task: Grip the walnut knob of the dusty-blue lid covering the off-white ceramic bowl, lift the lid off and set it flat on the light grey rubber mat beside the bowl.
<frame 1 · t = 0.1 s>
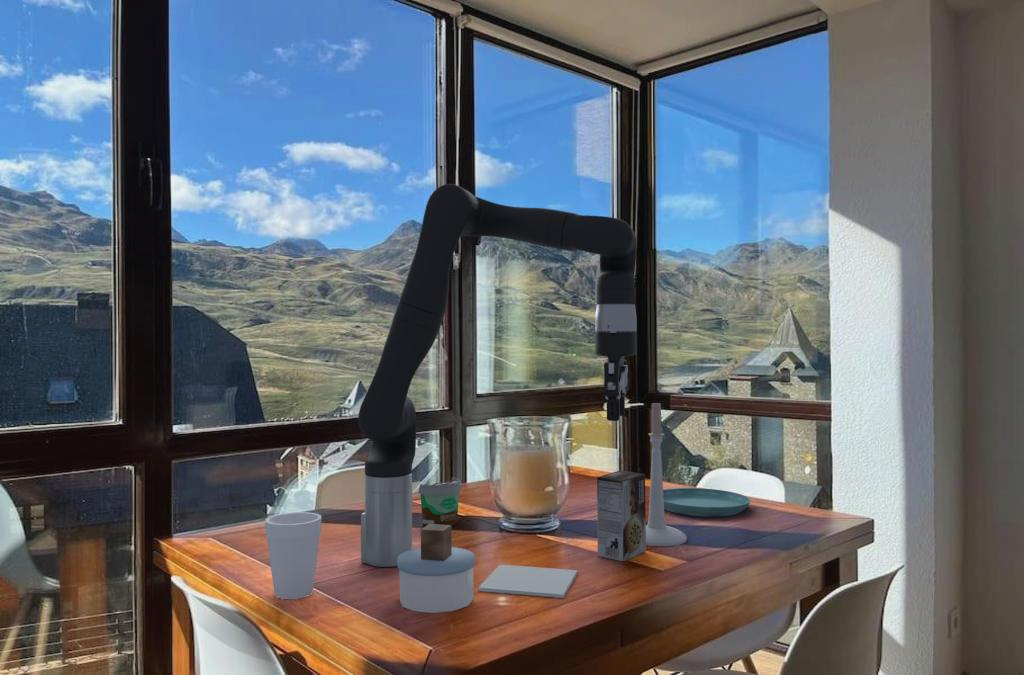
hand: (616, 418, 141), 29 cm above the table, fingers open, 8 cm apart
lid: (436, 564, 130), point 6 cm above the table, touching bowl
candlestick: (656, 539, 169), on the table
coffee box: (621, 555, 157), on the table
food container: (446, 525, 182), on the table
bowl: (436, 599, 130), on the table
saucer: (701, 510, 199), on the table
foam cup: (293, 594, 133), on the table
mat: (529, 581, 139), on the table
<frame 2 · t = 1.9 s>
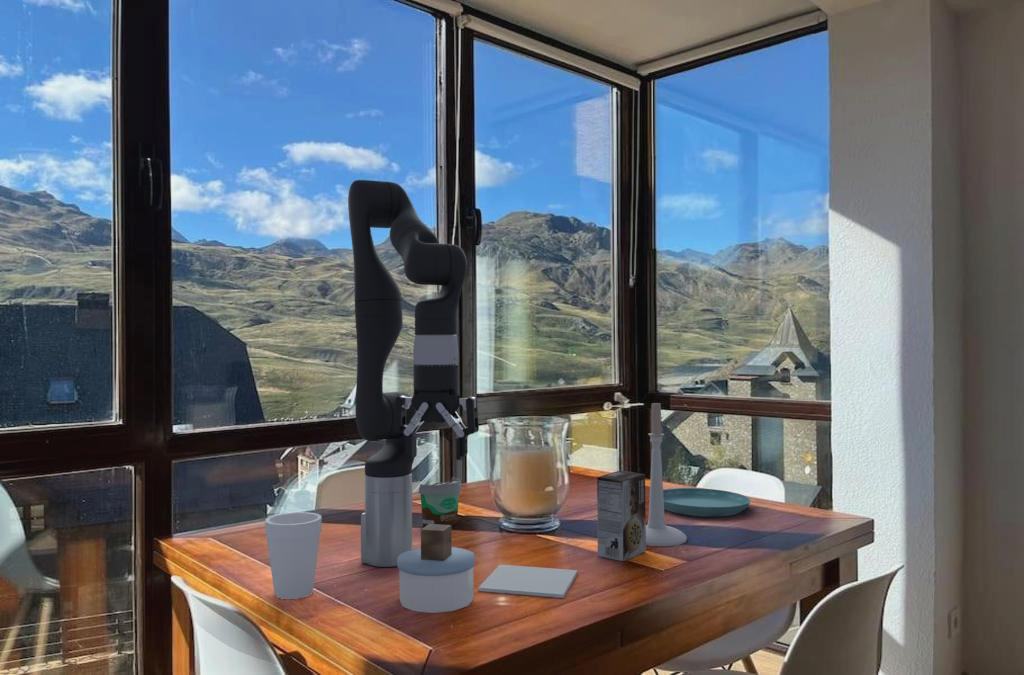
hand: (436, 458, 130), 24 cm above the table, fingers open, 8 cm apart
nothing on the table moved.
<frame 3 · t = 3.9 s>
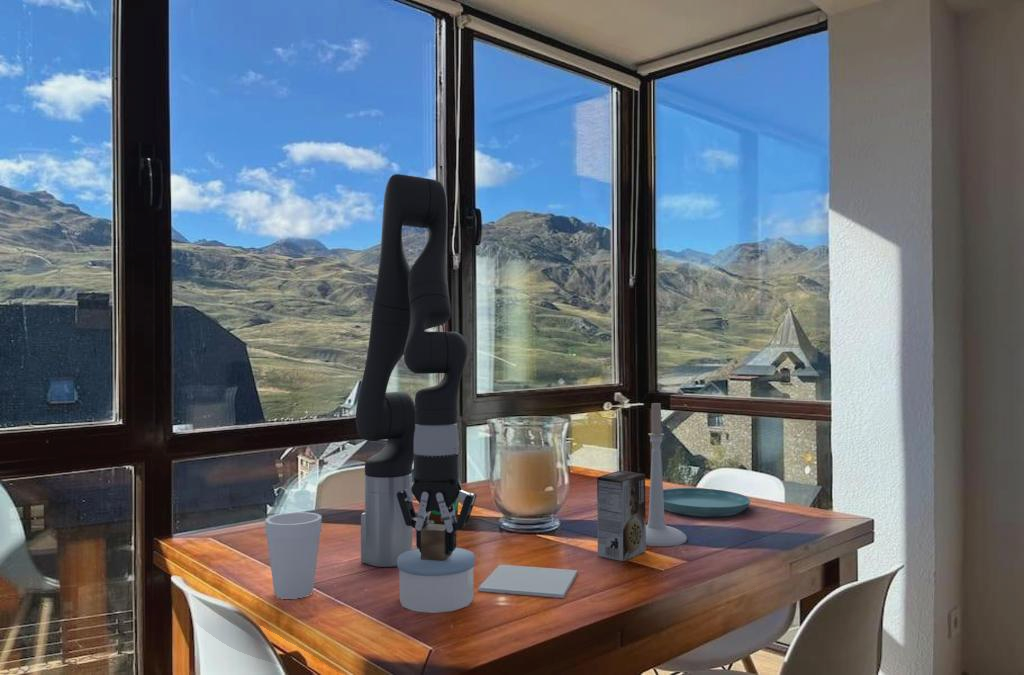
hand: (436, 551, 130), 8 cm above the table, fingers closed on lid, 4 cm apart
lid: (436, 564, 130), point 6 cm above the table, touching bowl, gripper
everything else where it was.
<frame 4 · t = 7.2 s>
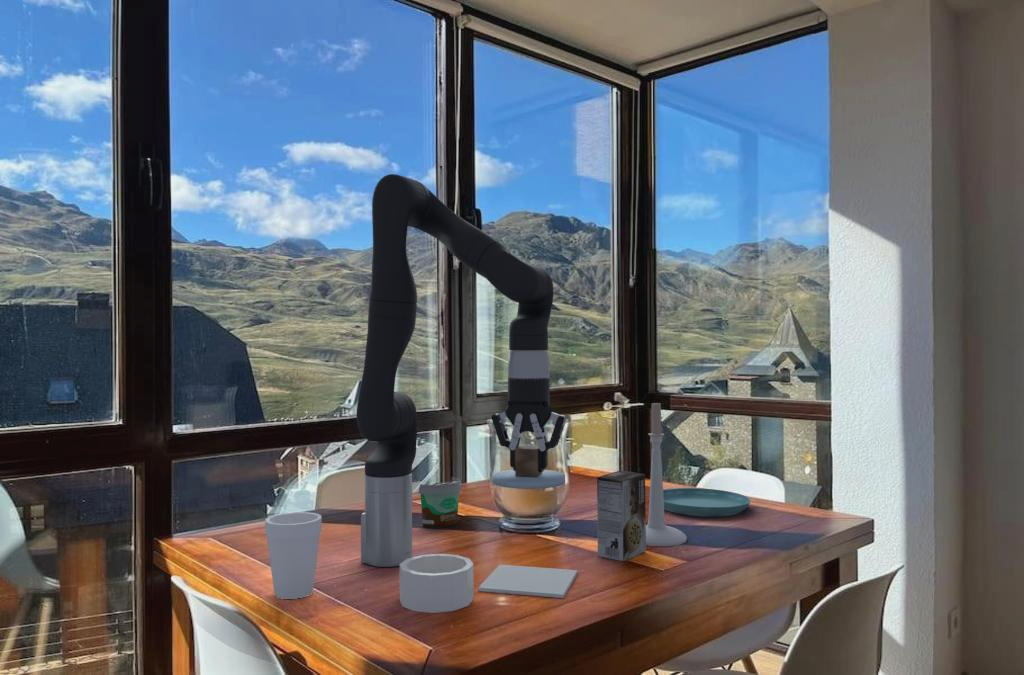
hand: (529, 470, 139), 20 cm above the table, fingers closed on lid, 4 cm apart
lid: (528, 481, 139), point 18 cm above the table, touching gripper
everything else where it was.
when the fingers open (4 cm above the table, at t = 10.5 s): lid drops 1 cm, resting on mat.
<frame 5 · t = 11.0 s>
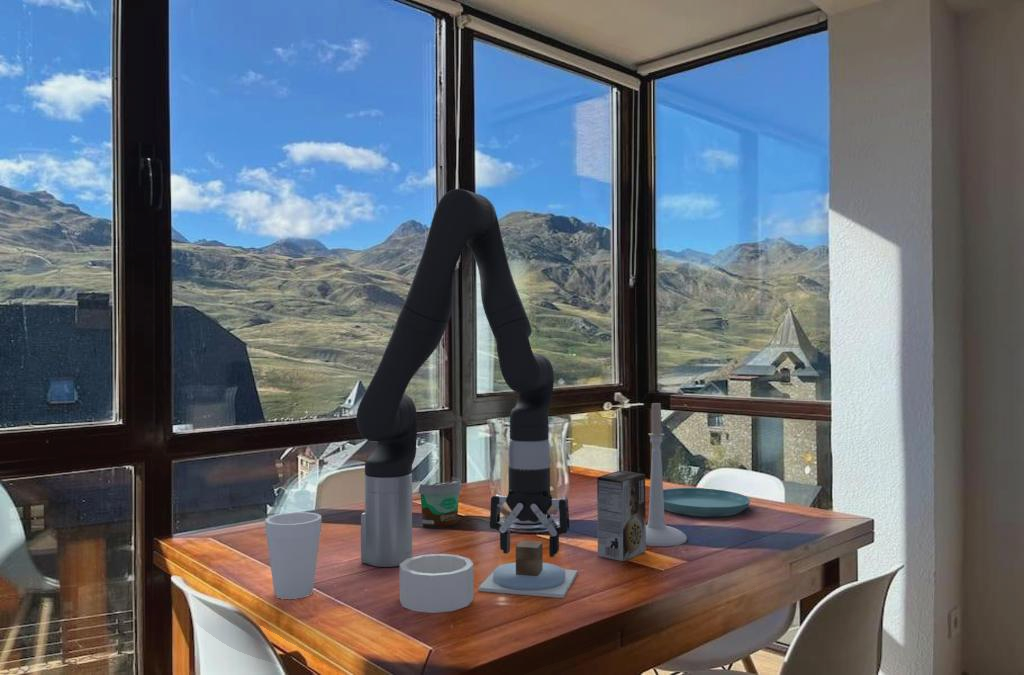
hand: (529, 554, 139), 5 cm above the table, fingers open, 8 cm apart
lid: (529, 578, 139), point 1 cm above the table, touching mat
everything else where it was.
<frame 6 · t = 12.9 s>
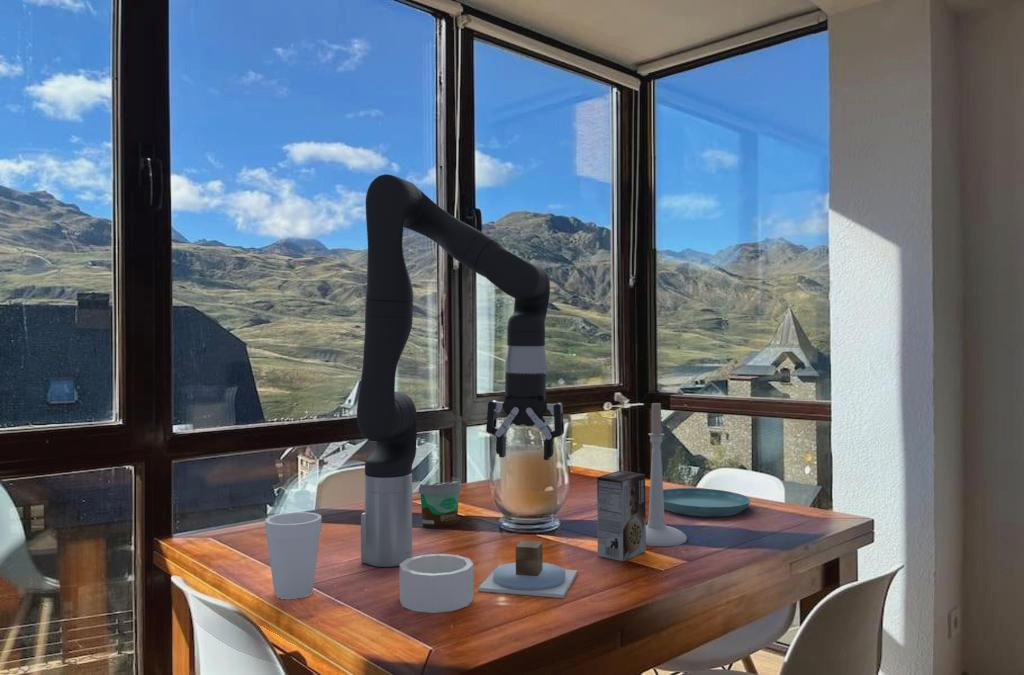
hand: (524, 458, 143), 22 cm above the table, fingers open, 8 cm apart
nothing on the table moved.
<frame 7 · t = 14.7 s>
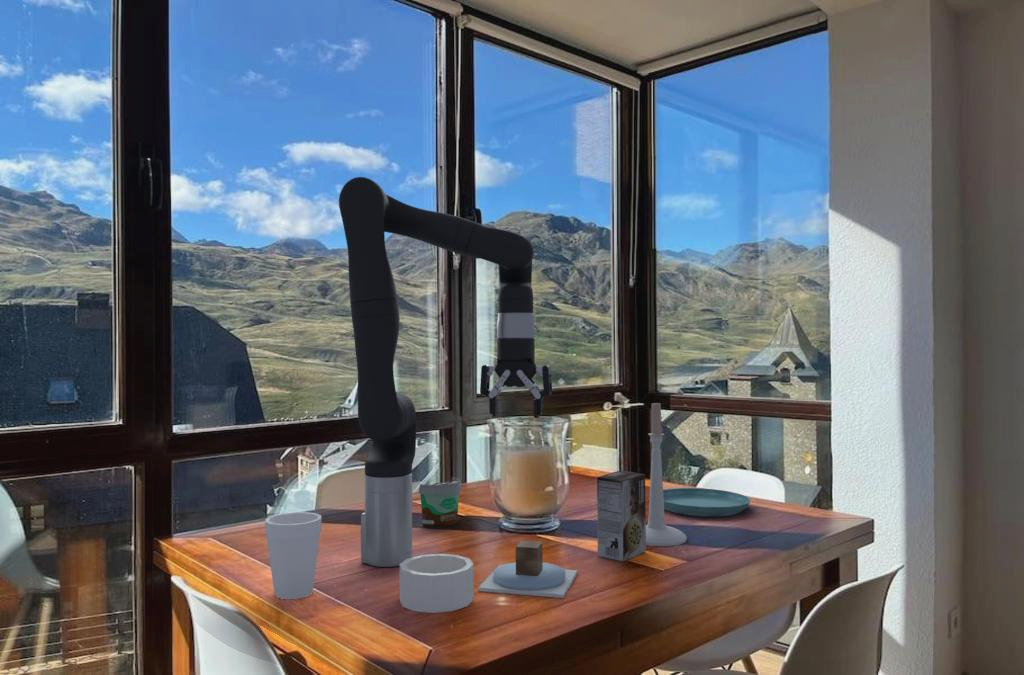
hand: (516, 417, 154), 28 cm above the table, fingers open, 8 cm apart
nothing on the table moved.
at the end: lid inside the target area on the mat (0.1 cm from its centre), point 0.6 cm above the mat's base; lid tilted 0°; the gripper is holding nothing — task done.
